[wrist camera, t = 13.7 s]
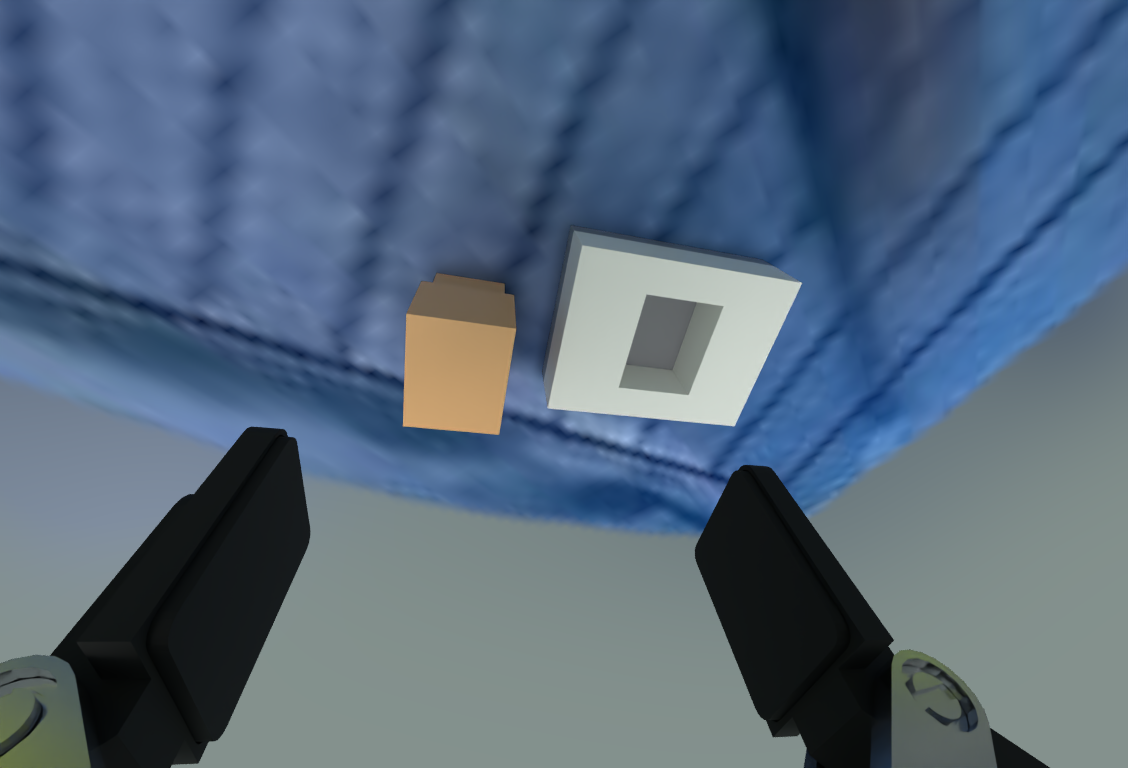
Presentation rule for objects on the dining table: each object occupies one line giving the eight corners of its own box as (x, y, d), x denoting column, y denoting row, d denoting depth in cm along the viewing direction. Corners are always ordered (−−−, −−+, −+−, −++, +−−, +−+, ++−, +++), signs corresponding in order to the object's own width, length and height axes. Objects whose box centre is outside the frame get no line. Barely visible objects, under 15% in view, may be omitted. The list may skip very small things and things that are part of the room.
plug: (513, 277, 31) (516, 328, 24) (499, 366, 34) (498, 434, 27) (429, 264, 29) (406, 313, 22) (424, 357, 33) (403, 426, 26)
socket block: (762, 259, 32) (802, 282, 28) (708, 390, 37) (734, 426, 33) (570, 225, 29) (582, 245, 25) (542, 371, 35) (547, 408, 30)
